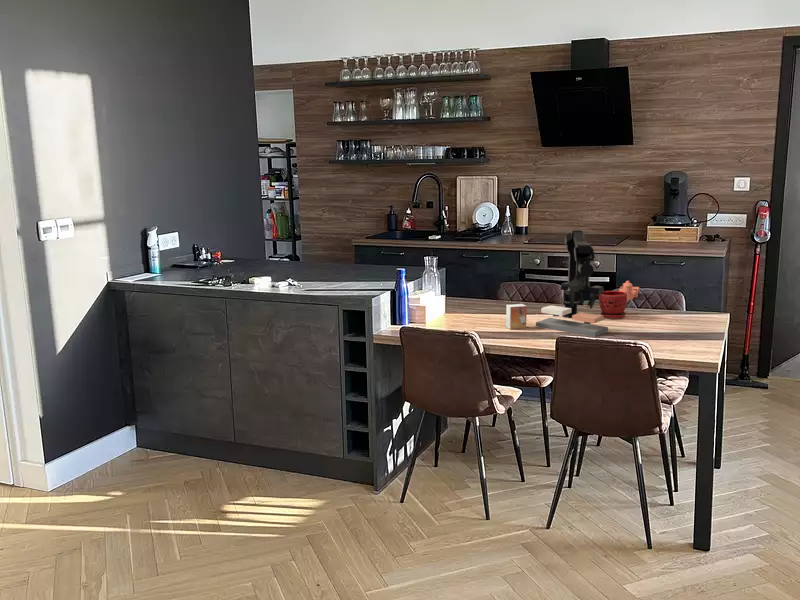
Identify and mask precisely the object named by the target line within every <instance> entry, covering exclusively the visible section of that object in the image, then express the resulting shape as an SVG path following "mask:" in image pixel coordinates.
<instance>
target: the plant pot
mask: <svg viewBox="0 0 800 600" xmlns="http://www.w3.org/2000/svg"><path fill="white" fill-rule="evenodd" d="M627 303H628V300H627V293H626V292H622V291H619V290H606V291H605V290H604V293H602V294H601V295H599V296H598V305H599V307H600V308H599V309H600V311H601V312H600V315H603V319H604V318H605V319H608V320H609V319H610V320H611V319H613V320H619V319H623V318H624V317H625V316H626V315H627V314H626V312H625V310H626V308H627Z"/></svg>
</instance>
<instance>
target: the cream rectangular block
mask: <svg viewBox="0 0 800 600" xmlns="http://www.w3.org/2000/svg"><path fill="white" fill-rule="evenodd" d="M571 309H572V308H565V306H556V305H547V306H543V307H541V309H540V311H541V312H540V313H542V314H548V315H549V314H550V315H552V317H555V318H556V317H560V316H561V317H563V315H566V314H569V313H571Z"/></svg>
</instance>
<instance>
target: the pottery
mask: <svg viewBox="0 0 800 600" xmlns="http://www.w3.org/2000/svg"><path fill="white" fill-rule="evenodd" d="M633 289H637V290H633ZM618 291H622V292H626V293H627V301H632V300H634V298H638V297H639V295H638V292H639V293H640V286H633V283H631V282H630V280H626V281H625V282H624V283H622V285H621V286H620V287H619V289H618Z"/></svg>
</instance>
